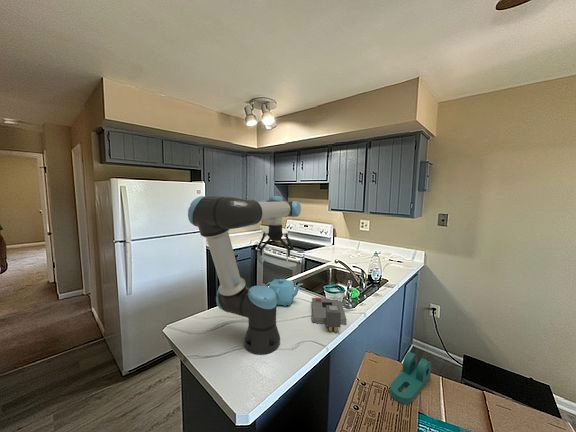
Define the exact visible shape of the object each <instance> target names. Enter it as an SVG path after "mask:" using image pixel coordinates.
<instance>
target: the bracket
mask: <svg viewBox="0 0 576 432" xmlns="http://www.w3.org/2000/svg"><path fill="white" fill-rule="evenodd" d="M418 358H419V357H418V354H415V353H413V352H411V351H408V352H407V353H406V354H405V355H404V358H403V362H402V371H401V373H400V374H398V376H397V377H396V378H395V379H394V380H393V381H392V382H391V383H390V386H389V395H390V396H391V398H392V399H393V400H394V401H396V403H400V404H401V405H402V404H403V405H410V404H411V403H413V401H414V400H415V399H416V397H418V395H419V394H420V393H421V392H422V391H423V389H424V387H425V386H426V385H427V384H428V383H429V381H430V380H431V373H432V372H431V371H432V362H431V361H428V360H427V359H425V358H423V357H422V358H420V360H419V362H418ZM404 388H406V389H405V390H404V391H403V392H402V390H403V389H404Z"/></svg>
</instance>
